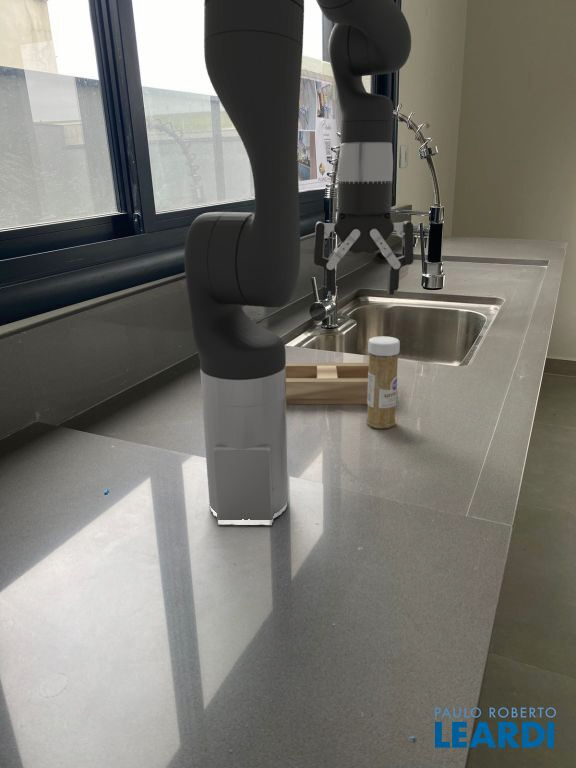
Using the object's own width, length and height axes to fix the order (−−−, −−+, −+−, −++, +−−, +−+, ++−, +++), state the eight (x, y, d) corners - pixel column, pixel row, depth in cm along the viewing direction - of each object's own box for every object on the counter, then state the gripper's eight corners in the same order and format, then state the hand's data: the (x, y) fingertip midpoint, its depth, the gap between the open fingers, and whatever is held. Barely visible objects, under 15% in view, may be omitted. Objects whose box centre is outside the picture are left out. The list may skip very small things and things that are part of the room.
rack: (387, 404, 100) (388, 381, 99) (267, 404, 101) (267, 381, 100) (381, 383, 110) (382, 362, 108) (271, 383, 111) (270, 363, 109)
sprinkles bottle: (392, 431, 90) (397, 344, 86) (362, 427, 92) (365, 342, 87) (398, 419, 94) (402, 336, 90) (369, 416, 96) (372, 334, 91)
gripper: (314, 179, 81) (314, 299, 86) (421, 178, 80) (414, 298, 86) (313, 178, 88) (312, 290, 93) (411, 177, 87) (405, 289, 93)
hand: (361, 294), depth 89 cm, fingers open, 8 cm apart
